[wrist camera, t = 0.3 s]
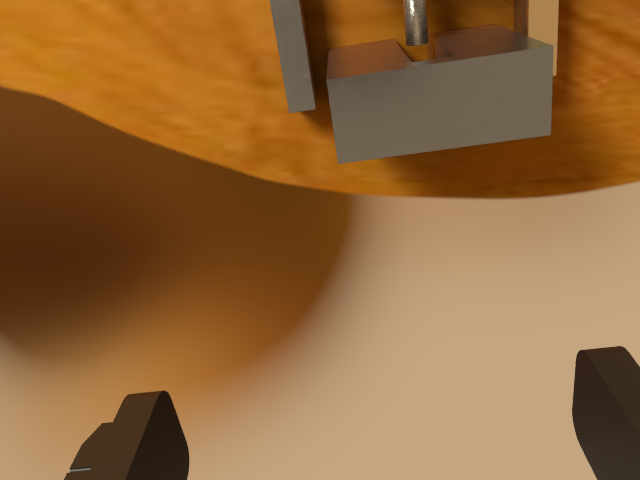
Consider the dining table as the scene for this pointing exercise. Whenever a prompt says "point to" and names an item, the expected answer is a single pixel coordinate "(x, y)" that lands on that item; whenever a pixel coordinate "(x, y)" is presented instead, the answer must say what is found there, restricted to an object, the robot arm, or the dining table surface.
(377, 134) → the grey vise frame
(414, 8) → the block on threaded rod
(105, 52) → the dining table surface
